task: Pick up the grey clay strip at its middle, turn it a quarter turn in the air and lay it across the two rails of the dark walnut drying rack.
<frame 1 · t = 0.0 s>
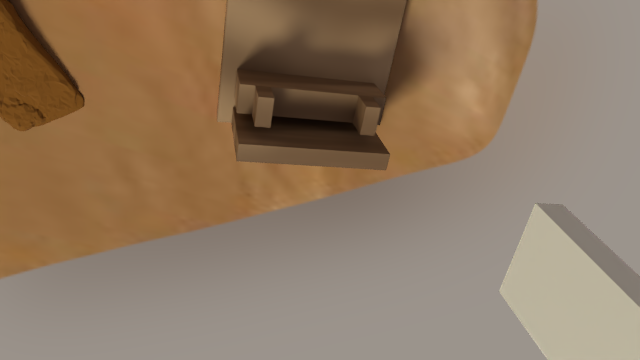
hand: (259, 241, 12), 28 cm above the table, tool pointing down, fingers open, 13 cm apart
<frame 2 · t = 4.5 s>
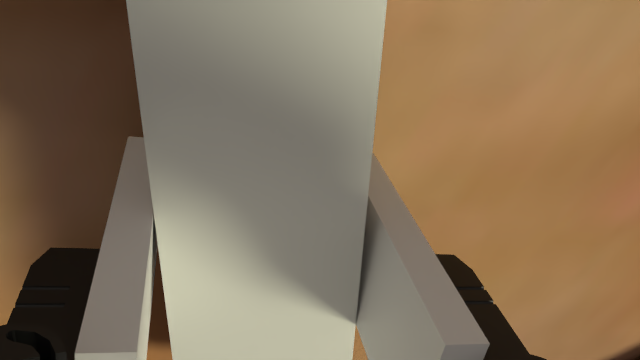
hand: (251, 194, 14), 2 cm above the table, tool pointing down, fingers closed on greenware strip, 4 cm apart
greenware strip: (249, 179, 14), point 1 cm above the table, touching gripper
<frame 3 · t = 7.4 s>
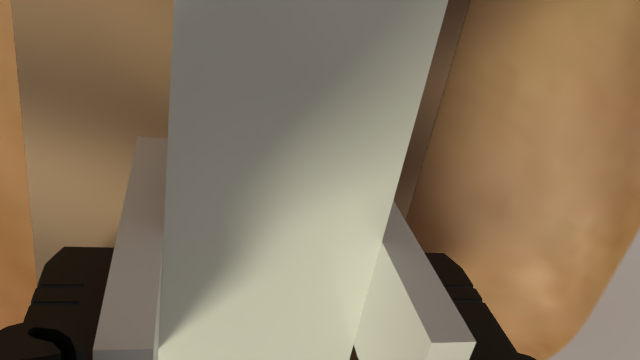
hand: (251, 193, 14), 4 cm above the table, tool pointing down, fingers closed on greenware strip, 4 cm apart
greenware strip: (251, 186, 14), point 4 cm above the table, touching gripper, rack
rack: (240, 119, 17), on the table
when the fingers open (3 cm above the table, at t = 7.7 s): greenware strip stays where it is, resting on rack.
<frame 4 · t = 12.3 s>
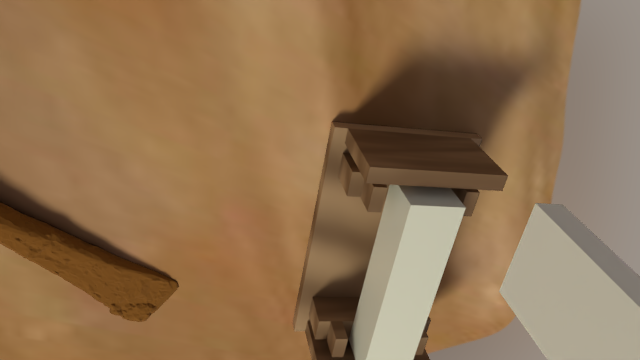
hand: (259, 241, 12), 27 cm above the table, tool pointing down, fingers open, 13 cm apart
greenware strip: (392, 265, 44), point 4 cm above the table, touching rack
primitive tool: (67, 240, 42), on the table
rack: (378, 234, 47), on the table
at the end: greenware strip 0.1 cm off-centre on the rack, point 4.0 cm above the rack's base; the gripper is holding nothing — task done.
